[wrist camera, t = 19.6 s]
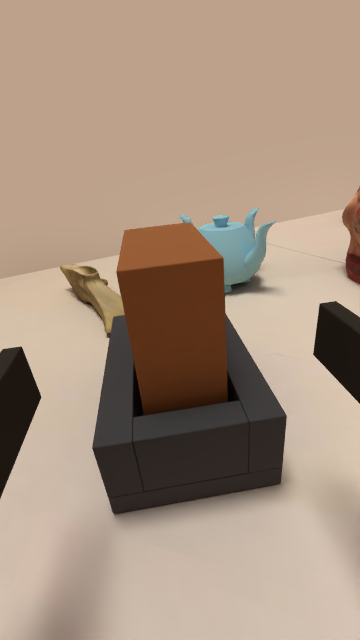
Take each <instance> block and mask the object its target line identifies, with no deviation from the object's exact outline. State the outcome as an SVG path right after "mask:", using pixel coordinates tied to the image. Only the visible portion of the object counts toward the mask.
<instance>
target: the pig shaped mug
mask: <svg viewBox="0 0 360 640" xmlns="http://www.w3.org/2000/svg"><path fill="white" fill-rule="evenodd" d="M342 218H343V223H344V225H345V226H346V227H347V228H348V230H349V232H350V235H351V241H350V245H349V249H348V252H347V257H346V269H347V273H348V275H349V277H350V278H352V279H353V280H355V281H357V282H359V283H360V187H359V189H358V191H357V193H356V194H355V196H354V198H353V199H352V201H351V202H350V203H349V204H348V206H347V207H346V208H345V210H344V212H343V216H342Z"/></svg>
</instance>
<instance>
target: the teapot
mask: <svg viewBox="0 0 360 640" xmlns="http://www.w3.org/2000/svg"><path fill="white" fill-rule="evenodd" d="M257 211H258V208H255V209H253V210H252V211H250V212H249V214H248V215H247V217H246V220H245V224H242V223H238V222H228V219H229V216H226V215H219V216H215V217H213V221H214V223H210V224H206V225H203V226H200V227H199V228H198V229H197V230H198V231H199V232H200V233H201V234H202V235H203V236H204V237H205V238H206V240H207V241H208V242H209V243H210V244H211V245H212V246H213V247H214V248H215V249H216V250H217V251H218V252H219V253H220V254H221V256H222V257H223V258H224V285H225V293H227V292H230V291H232V289H231V284H237V283H240V282H243V283H246V282H250V281H251V279H250V278H251V277H252V276H253V275H254V274H255V273H256V271H257V270H258V269H259V267H260V264H261V262H262V261H263V260H264V257H265V253H266V235H267V232H268V230H269V228H270V227H271V226H272V225H273V224H274V223H275V222H276V221H274V222H271V223H267V224H264V225H261V226H260V227H259V229H258V231H257V234H256V239H255V230H254V218H255V215H256V213H257ZM180 217H181V219H182V220H183V222H184V223H189V222H190V223H191V224H192V222H191V220H190V218H188V217H187V216H185V215H180ZM192 225H193V224H192Z"/></svg>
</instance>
